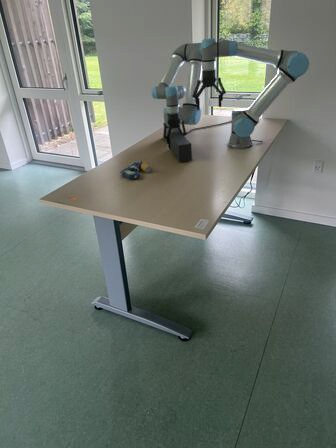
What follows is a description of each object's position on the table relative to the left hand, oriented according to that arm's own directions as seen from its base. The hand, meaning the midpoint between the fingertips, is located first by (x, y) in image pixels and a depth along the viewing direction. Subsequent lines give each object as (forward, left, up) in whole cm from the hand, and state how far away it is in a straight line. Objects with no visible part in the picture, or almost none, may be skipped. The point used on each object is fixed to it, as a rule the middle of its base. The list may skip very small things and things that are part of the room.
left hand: (175, 147), depth 224 cm
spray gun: (+38, +20, -2) cm, 43 cm away
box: (+3, +10, -1) cm, 10 cm away
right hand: (-14, +20, +26) cm, 36 cm away
